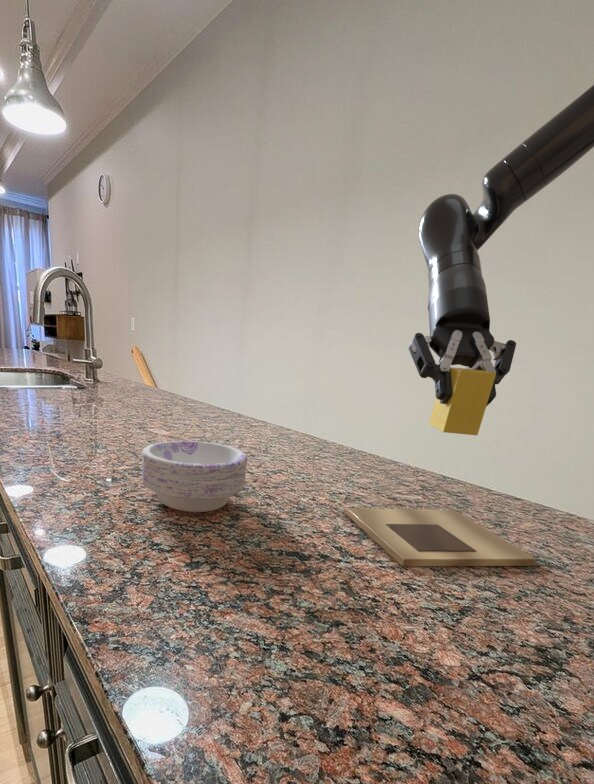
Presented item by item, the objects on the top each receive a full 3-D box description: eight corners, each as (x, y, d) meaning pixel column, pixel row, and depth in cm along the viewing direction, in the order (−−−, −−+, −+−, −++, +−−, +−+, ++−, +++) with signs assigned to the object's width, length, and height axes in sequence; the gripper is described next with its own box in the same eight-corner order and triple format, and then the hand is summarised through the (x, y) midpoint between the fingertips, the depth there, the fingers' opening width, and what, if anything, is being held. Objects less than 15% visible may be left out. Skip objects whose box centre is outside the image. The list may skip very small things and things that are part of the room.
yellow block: (460, 426, 65) (476, 369, 62) (477, 435, 59) (496, 372, 56) (428, 423, 65) (443, 366, 62) (443, 432, 60) (460, 369, 57)
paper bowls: (183, 479, 77) (186, 433, 74) (260, 502, 69) (266, 452, 66) (119, 501, 66) (119, 448, 63) (202, 532, 58) (207, 473, 55)
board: (452, 515, 70) (454, 509, 70) (534, 566, 56) (537, 558, 55) (345, 514, 67) (347, 507, 67) (402, 566, 53) (404, 558, 52)
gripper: (416, 281, 63) (421, 378, 56) (523, 288, 61) (541, 388, 55) (398, 323, 69) (400, 413, 63) (494, 330, 68) (506, 423, 62)
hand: (466, 401), depth 59 cm, fingers closed on yellow block, 4 cm apart
